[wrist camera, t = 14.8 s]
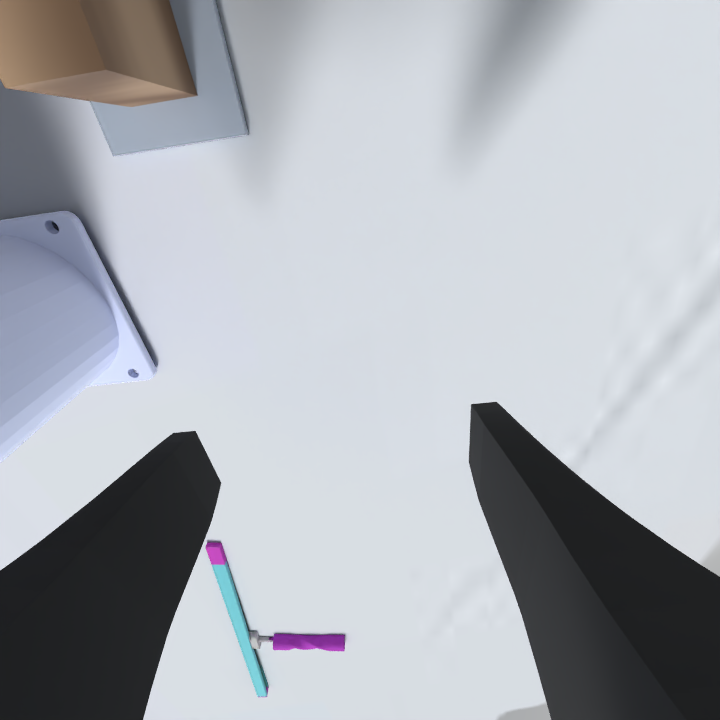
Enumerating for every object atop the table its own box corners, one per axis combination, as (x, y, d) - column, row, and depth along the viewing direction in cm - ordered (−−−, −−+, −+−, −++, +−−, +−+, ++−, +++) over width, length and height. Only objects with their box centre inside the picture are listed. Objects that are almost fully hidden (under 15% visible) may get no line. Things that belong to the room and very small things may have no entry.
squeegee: (345, 701, 40) (257, 700, 40) (346, 682, 42) (260, 681, 42) (341, 553, 26) (204, 550, 26) (343, 531, 27) (212, 529, 27)
